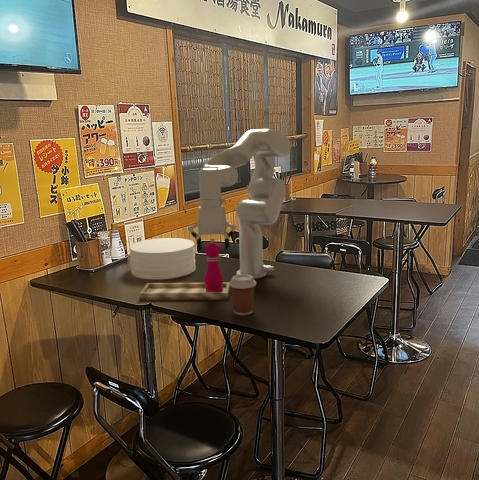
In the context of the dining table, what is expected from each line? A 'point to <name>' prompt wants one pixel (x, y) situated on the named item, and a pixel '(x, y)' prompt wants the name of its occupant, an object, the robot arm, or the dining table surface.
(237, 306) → the coffee cup
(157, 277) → the plate stack
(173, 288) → the birch tray
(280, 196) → the robot arm
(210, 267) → the pepper mill
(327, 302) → the dining table surface
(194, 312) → the dining table surface
